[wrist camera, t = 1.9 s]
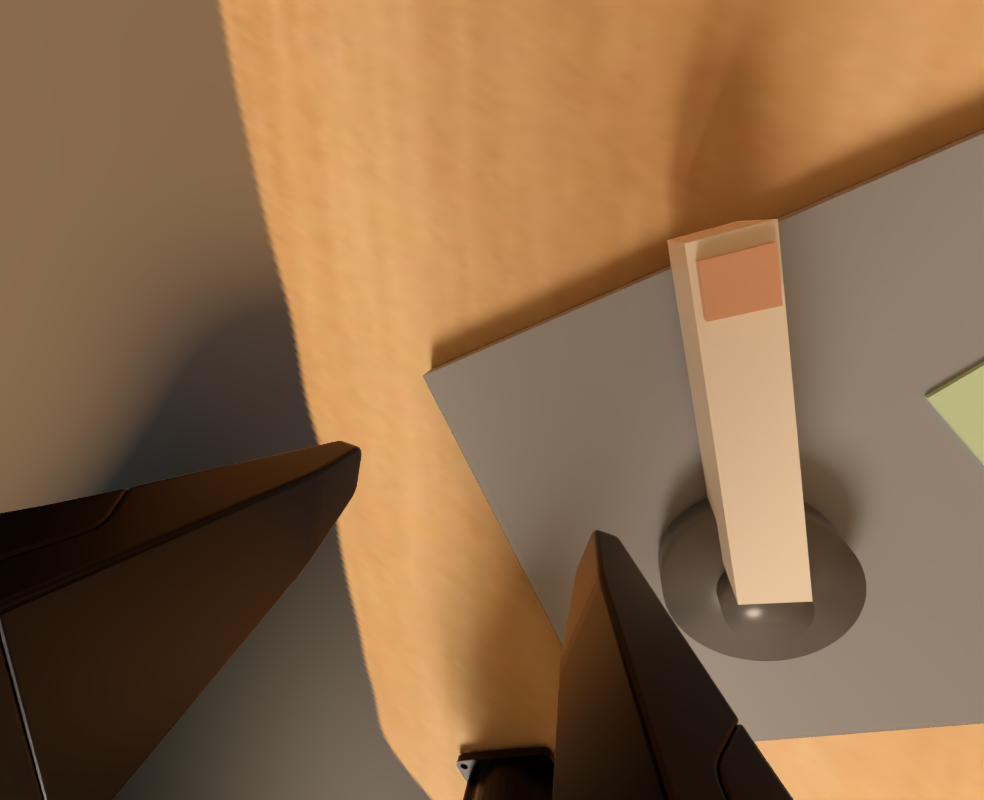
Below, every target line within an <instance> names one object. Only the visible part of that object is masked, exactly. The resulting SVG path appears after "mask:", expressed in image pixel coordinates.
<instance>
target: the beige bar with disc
mask: <svg viewBox="0 0 984 800" xmlns="http://www.w3.org/2000/svg"><path fill="white" fill-rule="evenodd" d="M667 244H668V250H669V256H670V263H671V269H672V275H673V282H674V288H675V294H676V301H677V307H678V313H679V320H680V326H681V332H682V339H683V345H684V351H685V357H686V364H687V370H688V376H689V383H690V389H691V395H692V402H693V408H694V414H695V421H696V427H697V433H698V440H699V446H700V452H701V459H702V465H703V471H704V478H705V484H706V490H707V497H708V498H707V499H704V500H702V501H700V502H698V503H696V504H694V505H693V506H691V507H690V508H688V509H687V510H685V511H684V512H682V513H681V514H680V515H679V516H678V517H677V518H676V519H675V520H674V521H673V522H672V524H671V525H670V526H669V527H668V529H667V531H666V532H665V534H664V536H663V539H662V541H661V544H660V548H659V552H658V565H659V573H660V579H661V585H662V592H663V597H664V601H665V604H666V607H667V609H668V611H669V613H670V615H671V617H672V618H673V620H674V621H675V622H676V624H677V625H678V626H679V627H680V628H681V629H682V630H683V631H684V632H685V633H686V634H687V635H688V636H689V637H691V638H692V639H694V640H695V641H697V642H698V643H700V644H701V645H703V646H705V647H707V648H709V649H711V650H713V651H716V652H718V653H721V654H724V655H727V656H730V657H734V658H739V659H744V660H752V661H782V660H788V659H794V658H798V657H802V656H806V655H809V654H812V653H814V652H817V651H819V650H821V649H823V648H825V647H827V646H829V645H831V644H832V643H834V642H835V641H837V640H838V639H840V638H841V637H842V636H843V635H844V634H846V633H847V632H848V630H849V629H850V628H851V627H852V626H853V625H854V623H855V622H856V620H857V619H858V617H859V616H860V614H861V611H862V609H863V607H864V603H865V599H866V588H867V585H866V579H865V574H864V571H863V568H862V566H861V564H860V562H859V560H858V558H857V557H856V555H855V554H854V552H853V551H852V550H851V549H850V547H849V546H848V545H847V543H846V542H845V541H844V539H843V538H842V537H841V535H840V534H839V533H838V532H837V530H836V529H835V528H834V526H833V525H832V524H831V523H830V521H829V520H828V519H827V518H826V517H824V516H823V515H822V514H821V513H820V512H819V511H817V510H816V509H814V508H813V507H812V506H810V505H808V504H806V503H804V502H803V491H802V480H801V469H800V458H799V447H798V436H797V425H796V414H795V403H794V392H793V381H792V370H791V359H790V348H789V337H788V326H787V315H786V304H785V293H784V283H783V272H782V261H781V250H780V239H779V228H778V219H765V220H745V221H736V222H732V223H728V224H725V225H721V226H717V227H713V228H710V229H706V230H702V231H699V232H695V233H691V234H688V235H684V236H680V237H677V238H673V239H669V240H667Z"/></svg>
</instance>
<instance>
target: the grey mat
mask: <svg viewBox="0 0 984 800" xmlns="http://www.w3.org/2000/svg"><path fill="white" fill-rule="evenodd" d="M778 228H779V239H780V250H781V261H782V272H783V283H784V293H785V304H786V315H787V326H788V337H789V348H790V359H791V370H792V381H793V392H794V403H795V414H796V425H797V436H798V447H799V458H800V469H801V480H802V491H803V502H804V503H806V504H808V505H810V506H812V507H813V508H814V509H816V510H817V511H819V512H820V513H821V514H822V515H823V516H824V517H826V518H827V519H828V520H829V521H830V523H831V524H832V525H833V526H834V528H835V529H836V530H837V532H838V533H839V534H840V535H841V537H842V538H843V539H844V541H845V542H846V543H847V545H848V546H849V547H850V549H851V550H852V551H853V552H854V554H855V555H856V557H857V558H858V560H859V562H860V564H861V566H862V568H863V571H864V574H865V579H866V585H867V588H866V599H865V603H864V607H863V609H862V611H861V614H860V616H859V617H858V619H857V620H856V622H855V623H854V625H853V626H852V627H851V628H850V629H849V630H848V632H847V633H846V634H844V635H843V636H842V637H841V638H840V639H838V640H837V641H835V642H834V643H832V644H831V645H829V646H827V647H825V648H823V649H821V650H819V651H817V652H814V653H812V654H809V655H806V656H802V657H798V658H794V659H788V660H782V661H752V660H744V659H739V658H734V657H730V656H727V655H724V654H721V653H718V652H716V651H713V650H711V649H709V648H707V647H705V646H703V645H701V644H700V643H698V642H697V641H695V640H694V639H692V638H691V637H689V636H688V635H687V634H686V633H685V632H684V631H683V630H682V629H681V628H680V627H679V626H678V625H677V624H676V622H675V621H674V620H673V621H674V622H675V624H676V625H677V627H678V628H679V630H680V631H681V633H682V634H683V636H684V637H685V639H686V640H687V642H688V643H689V645H690V646H691V648H692V649H693V651H694V652H695V654H696V655H697V657H698V658H699V660H700V661H701V663H702V664H703V666H704V668H705V669H706V671H707V672H708V674H709V675H710V677H711V678H712V680H713V681H714V683H715V684H716V686H717V687H718V689H719V690H720V692H721V693H722V695H723V696H724V698H725V699H726V701H727V702H728V704H729V705H730V707H731V708H732V710H733V711H734V713H735V714H736V716H737V717H738V720H739V722H738V724H741V725H743V726H744V728H745V729H746V731H747V732H748V734H749V735H750V737H751V738H752V740H753V741H766V740H779V739H792V738H804V737H817V736H829V735H842V734H855V733H867V732H880V731H893V730H905V729H918V728H930V727H943V726H956V725H968V724H981V723H984V129H982V130H980V131H978V132H975V133H973V134H971V135H968V136H966V137H964V138H962V139H959V140H957V141H955V142H952V143H950V144H948V145H945V146H943V147H941V148H939V149H936V150H934V151H932V152H929V153H927V154H925V155H922V156H920V157H918V158H916V159H913V160H911V161H909V162H906V163H904V164H902V165H899V166H897V167H895V168H893V169H890V170H888V171H886V172H883V173H881V174H879V175H876V176H874V177H872V178H870V179H867V180H865V181H863V182H860V183H858V184H856V185H854V186H851V187H849V188H847V189H844V190H842V191H840V192H837V193H835V194H833V195H831V196H828V197H826V198H824V199H821V200H819V201H817V202H814V203H812V204H810V205H808V206H805V207H803V208H801V209H798V210H796V211H794V212H791V213H789V214H787V215H785V216H782V217H780V218H778ZM423 378H424V379H425V381H426V383H427V385H428V387H429V389H430V391H431V393H432V395H433V397H434V399H435V401H436V403H437V405H438V407H439V408H440V410H441V412H442V414H443V416H444V418H445V420H446V422H447V424H448V426H449V428H450V430H451V432H452V434H453V435H454V437H455V439H456V441H457V443H458V445H459V447H460V449H461V451H462V453H463V455H464V457H465V459H466V461H467V463H468V464H469V466H470V468H471V470H472V472H473V474H474V476H475V478H476V480H477V482H478V484H479V486H480V488H481V490H482V492H483V493H484V495H485V497H486V499H487V501H488V503H489V505H490V507H491V509H492V511H493V513H494V515H495V517H496V519H497V520H498V522H499V524H500V526H501V528H502V530H503V532H504V534H505V536H506V538H507V540H508V542H509V544H510V546H511V548H512V549H513V551H514V553H515V555H516V557H517V559H518V561H519V563H520V565H521V567H522V569H523V571H524V573H525V575H526V576H527V578H528V580H529V582H530V584H531V586H532V588H533V590H534V592H535V594H536V596H537V598H538V600H539V602H540V604H541V605H542V607H543V609H544V611H545V613H546V615H547V617H548V619H549V621H550V623H551V625H552V627H553V629H554V631H555V633H556V634H557V636H558V638H559V640H560V642H561V644H562V646H563V642H564V637H565V631H566V625H567V620H568V614H569V609H570V603H571V597H572V592H573V586H574V580H575V575H576V571H577V568H578V565H579V563H580V560H581V558H582V555H583V553H584V551H585V548H586V546H587V543H588V541H589V539H590V536H591V534H592V532H594V531H595V530H600V531H603V532H606V533H609V534H612V535H615V536H617V537H618V538H619V539H620V541H621V542H622V544H623V545H624V547H625V548H626V550H627V551H628V553H629V554H630V556H631V557H632V559H633V560H634V562H635V563H636V565H637V566H638V568H639V569H640V571H641V572H642V574H643V575H644V577H645V578H646V580H647V581H648V583H649V584H650V586H651V588H652V589H653V591H654V592H655V594H656V595H657V597H658V598H659V600H660V601H661V603H662V604H663V606H664V607H665V609H666V610H667V612H668V613H669V611H668V609H667V607H666V604H665V601H664V597H663V592H662V585H661V579H660V573H659V565H658V552H659V548H660V544H661V541H662V539H663V536H664V534H665V532H666V531H667V529H668V527H669V526H670V525H671V524H672V522H673V521H674V520H675V519H676V518H677V517H678V516H679V515H680V514H681V513H682V512H684V511H685V510H687V509H688V508H690V507H691V506H693V505H694V504H696V503H698V502H700V501H702V500H704V499H707V498H708V497H707V490H706V484H705V478H704V471H703V465H702V459H701V452H700V446H699V440H698V433H697V427H696V421H695V414H694V408H693V402H692V395H691V389H690V383H689V376H688V370H687V364H686V357H685V351H684V345H683V339H682V332H681V326H680V320H679V313H678V307H677V301H676V294H675V288H674V282H673V275H672V269H671V265H670V266H667V267H665V268H663V269H661V270H658V271H656V272H654V273H651V274H649V275H647V276H644V277H642V278H640V279H638V280H635V281H633V282H631V283H628V284H626V285H624V286H621V287H619V288H617V289H615V290H612V291H610V292H608V293H605V294H603V295H601V296H598V297H596V298H594V299H592V300H589V301H587V302H585V303H582V304H580V305H578V306H575V307H573V308H571V309H569V310H566V311H564V312H562V313H559V314H557V315H555V316H553V317H550V318H548V319H546V320H543V321H541V322H539V323H536V324H534V325H532V326H530V327H527V328H525V329H523V330H520V331H518V332H516V333H513V334H511V335H509V336H507V337H504V338H502V339H500V340H497V341H495V342H493V343H490V344H488V345H486V346H484V347H481V348H479V349H477V350H474V351H472V352H470V353H467V354H465V355H463V356H461V357H458V358H456V359H454V360H451V361H449V362H447V363H445V364H442V365H440V366H438V367H435V368H433V369H431V370H429V371H428V372H427V373H426V374H425V375H423ZM669 615H670V613H669ZM670 616H671V615H670ZM671 618H672V617H671ZM672 619H673V618H672ZM738 724H737V725H738Z"/></svg>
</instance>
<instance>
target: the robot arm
mask: <svg viewBox="0 0 984 800" xmlns="http://www.w3.org/2000/svg"><path fill="white" fill-rule="evenodd" d="M360 461H361V450H360V448H359V447H357V446H355V445H352V444H349V443H346V442H343V441H336V442H331V443H327V444H322V445H318V446H313V447H309V448H305V449H300V450H295V451H291V452H286V453H282V454H277V455H273V456H268V457H264V458H260V459H255V460H250V461H246V462H242V463H237V464H232V465H228V466H223V467H219V468H214V469H210V470H205V471H201V472H196V473H192V474H187V475H183V476H178V477H174V478H170V479H165V480H160V481H156V482H152V483H147V484H143V485H138V486H133V487H131V488H130V489H129V490H127V489H125V488H124V489H119V490H115V491H110V492H106V493H102V494H98V495H93V496H88V497H83V498H78V499H73V500H69V501H64V502H59V503H54V504H50V505H44V506H38V507H33V508H27V509H22V510H17V511H11V512H5V513H0V800H113V799H114V797H115V796H116V795H117V794H118V792H119V791H120V790H121V789H122V787H123V786H124V785H125V784H126V783H127V781H128V780H129V779H130V778H131V777H132V776H133V774H134V773H135V772H136V771H137V770H138V768H139V767H140V766H141V765H142V763H143V762H144V761H145V760H146V759H147V758H148V756H149V755H150V754H151V753H152V752H153V750H154V749H155V748H156V747H157V745H158V744H159V743H160V742H161V741H162V739H163V738H164V737H165V736H166V735H167V733H168V732H169V731H170V730H171V729H172V727H173V726H174V725H175V724H176V723H177V721H178V720H179V719H180V718H181V717H182V715H183V714H184V713H185V712H186V710H187V709H188V708H189V707H190V706H191V705H192V703H193V702H194V701H195V700H196V698H197V697H198V696H199V695H200V694H201V692H202V691H203V690H204V689H205V687H206V686H207V685H208V684H209V683H210V682H211V680H212V679H213V678H214V677H215V676H216V674H217V673H218V672H219V671H220V670H221V668H222V667H223V666H224V665H225V664H226V662H227V661H228V660H229V659H230V658H231V656H232V655H233V654H234V653H235V651H236V650H237V649H238V648H239V647H240V645H241V644H242V643H243V642H244V641H245V639H246V638H247V637H248V636H249V635H250V633H251V632H252V631H253V630H254V628H255V627H256V626H257V625H258V624H259V623H260V621H261V620H262V619H263V618H264V617H265V615H266V614H267V613H268V612H269V611H270V609H271V608H272V607H273V606H274V604H275V603H276V602H277V601H278V600H279V598H280V597H281V596H282V595H283V594H284V592H285V591H286V590H287V589H288V588H289V586H290V585H291V584H292V583H293V581H294V580H295V579H296V578H297V577H298V576H299V574H300V573H301V572H302V571H303V569H304V568H305V567H306V565H307V564H308V563H309V561H310V560H311V559H312V557H313V556H314V554H315V553H316V551H317V550H318V548H319V547H320V545H321V544H322V542H323V541H324V539H325V538H326V536H327V535H328V533H329V532H330V530H331V529H332V527H333V525H334V524H335V522H336V521H337V519H338V518H339V516H340V515H341V513H342V512H343V510H344V509H345V507H346V506H347V504H348V503H349V501H350V500H351V498H352V496H353V494H354V492H355V490H356V487H357V481H358V474H359V468H360ZM738 722H739V720H738V717H737V716H736V714H735V713H734V711H733V710H732V708H731V707H730V705H729V704H728V702H727V701H726V699H725V698H724V696H723V695H722V693H721V692H720V690H719V689H718V687H717V686H716V684H715V683H714V681H713V680H712V678H711V677H710V675H709V674H708V672H707V671H706V669H705V668H704V666H703V664H702V663H701V661H700V660H699V658H698V657H697V655H696V654H695V652H694V651H693V649H692V648H691V646H690V645H689V643H688V642H687V640H686V639H685V637H684V636H683V634H682V633H681V631H680V630H679V628H678V627H677V625H676V624H675V622H674V621H673V619H672V618H671V616H670V615H669V613H668V612H667V610H666V609H665V607H664V606H663V604H662V603H661V601H660V600H659V598H658V597H657V595H656V594H655V592H654V591H653V589H652V588H651V586H650V584H649V583H648V581H647V580H646V578H645V577H644V575H643V574H642V572H641V571H640V569H639V568H638V566H637V565H636V563H635V562H634V560H633V559H632V557H631V556H630V554H629V553H628V551H627V550H626V548H625V547H624V545H623V544H622V542H621V541H620V539H619V538H618V537H617V536H615V535H612V534H609V533H606V532H603V531H600V530H595V531H594V532H592V534H591V536H590V539H589V541H588V543H587V546H586V548H585V551H584V553H583V555H582V558H581V560H580V563H579V565H578V568H577V571H576V575H575V580H574V586H573V592H572V597H571V603H570V609H569V614H568V620H567V625H566V631H565V637H564V642H563V649H562V655H561V663H560V675H559V693H558V711H557V729H556V747H555V756H554V755H553V753H552V752H551V750H549V749H547V748H543V747H540V748H529V749H517V750H506V751H495V752H483V753H472V754H462V755H460V756H459V757H458V761H457V767H458V769H459V770H460V772H461V774H462V775H463V777H464V778H465V780H466V781H467V786H466V790H465V794H464V798H463V800H793V798H792V797H791V795H790V794H789V792H788V791H787V790H786V788H785V787H784V785H783V784H782V782H781V781H780V779H779V778H778V776H777V775H776V774H775V772H774V771H773V769H772V768H771V766H770V765H769V763H768V762H767V761H766V759H765V758H764V756H763V755H762V753H761V752H760V750H759V749H758V747H757V746H756V744H755V743H754V741H753V740H752V738H751V737H750V735H749V734H748V732H747V731H746V729H745V728H744V726H743V725H741V724H738ZM737 724H738V725H737Z"/></svg>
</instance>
